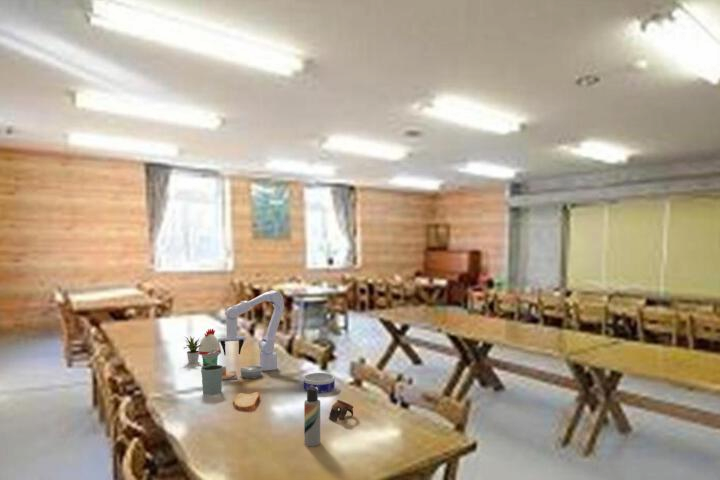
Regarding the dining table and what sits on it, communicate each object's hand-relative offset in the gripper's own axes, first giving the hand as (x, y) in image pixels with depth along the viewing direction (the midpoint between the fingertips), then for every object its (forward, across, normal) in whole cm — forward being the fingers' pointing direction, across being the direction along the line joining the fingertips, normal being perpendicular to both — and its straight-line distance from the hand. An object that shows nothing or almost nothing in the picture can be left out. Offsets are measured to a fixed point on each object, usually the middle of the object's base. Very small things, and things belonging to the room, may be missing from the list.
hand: (232, 354), depth 269 cm
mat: (+10, +6, +6) cm, 13 cm away
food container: (+10, +10, -10) cm, 18 cm away
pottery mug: (+11, -37, +85) cm, 93 cm away
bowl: (+10, -9, +9) cm, 16 cm away
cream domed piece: (+11, +10, -57) cm, 59 cm away
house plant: (+10, +22, -32) cm, 40 cm away
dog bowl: (+11, -38, +42) cm, 58 cm away
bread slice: (+11, -3, +53) cm, 54 cm away
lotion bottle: (+10, -20, +105) cm, 108 cm away
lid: (+10, +5, +7) cm, 13 cm away
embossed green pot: (+10, +12, +32) cm, 35 cm away
